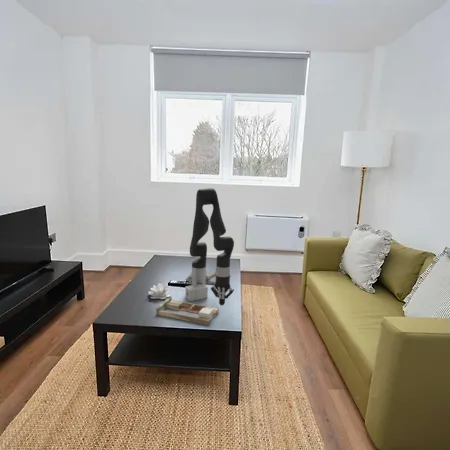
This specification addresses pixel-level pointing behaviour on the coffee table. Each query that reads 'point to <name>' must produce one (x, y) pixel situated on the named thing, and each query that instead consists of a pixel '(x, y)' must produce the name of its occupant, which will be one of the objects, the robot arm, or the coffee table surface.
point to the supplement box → (196, 292)
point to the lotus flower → (159, 291)
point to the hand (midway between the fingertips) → (221, 304)
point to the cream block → (206, 313)
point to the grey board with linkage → (209, 277)
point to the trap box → (184, 307)
